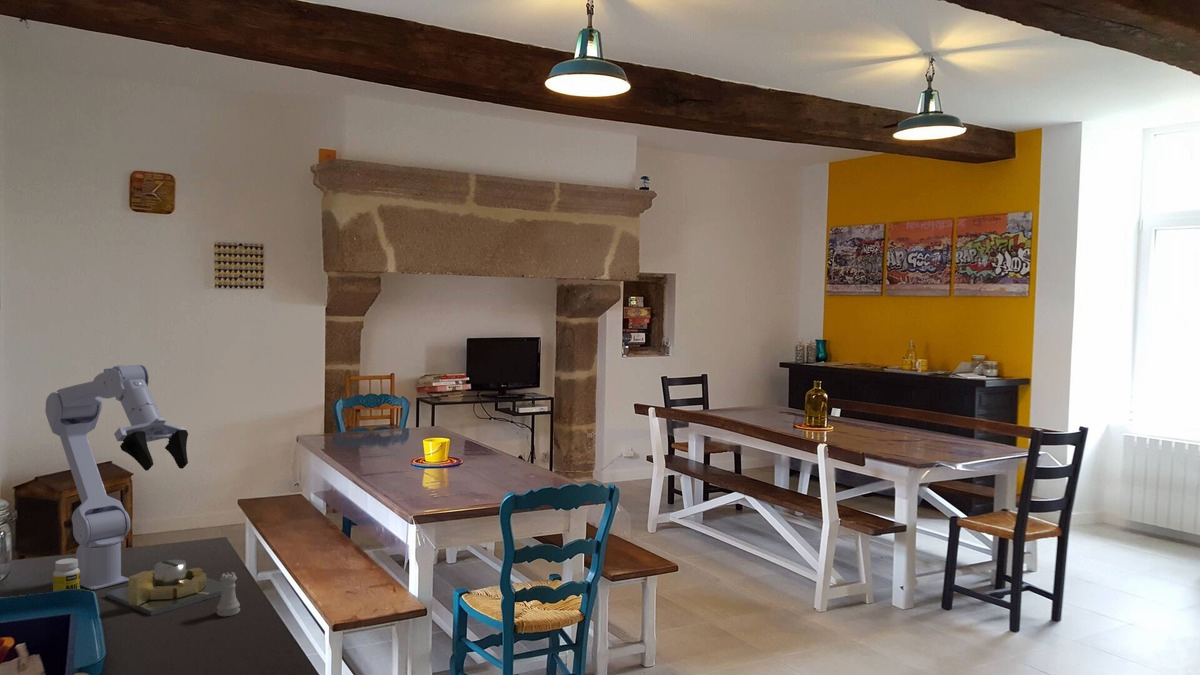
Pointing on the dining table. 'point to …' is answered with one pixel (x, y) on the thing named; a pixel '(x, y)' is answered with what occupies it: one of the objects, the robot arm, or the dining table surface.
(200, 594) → the flange plate
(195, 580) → the tan hexagonal frame
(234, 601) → the rook chess piece
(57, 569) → the supplement bottle
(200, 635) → the dining table surface
